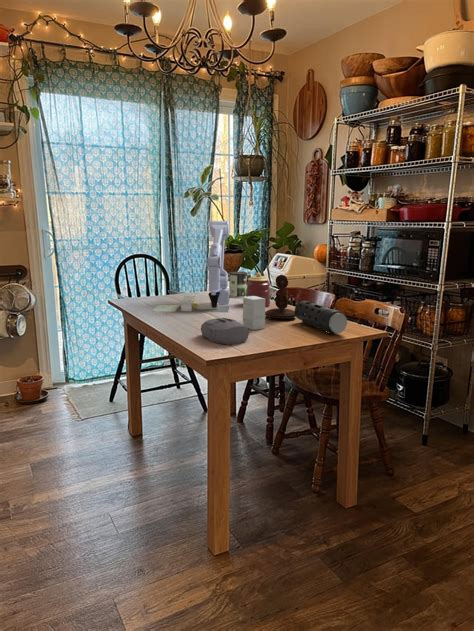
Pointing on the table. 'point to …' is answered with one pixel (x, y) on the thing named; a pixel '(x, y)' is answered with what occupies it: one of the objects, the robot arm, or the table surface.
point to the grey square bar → (187, 303)
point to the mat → (178, 309)
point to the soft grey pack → (224, 331)
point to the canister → (259, 287)
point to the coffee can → (238, 284)
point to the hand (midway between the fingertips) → (214, 306)
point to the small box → (254, 312)
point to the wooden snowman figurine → (281, 301)
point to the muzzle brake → (321, 317)
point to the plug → (204, 306)
